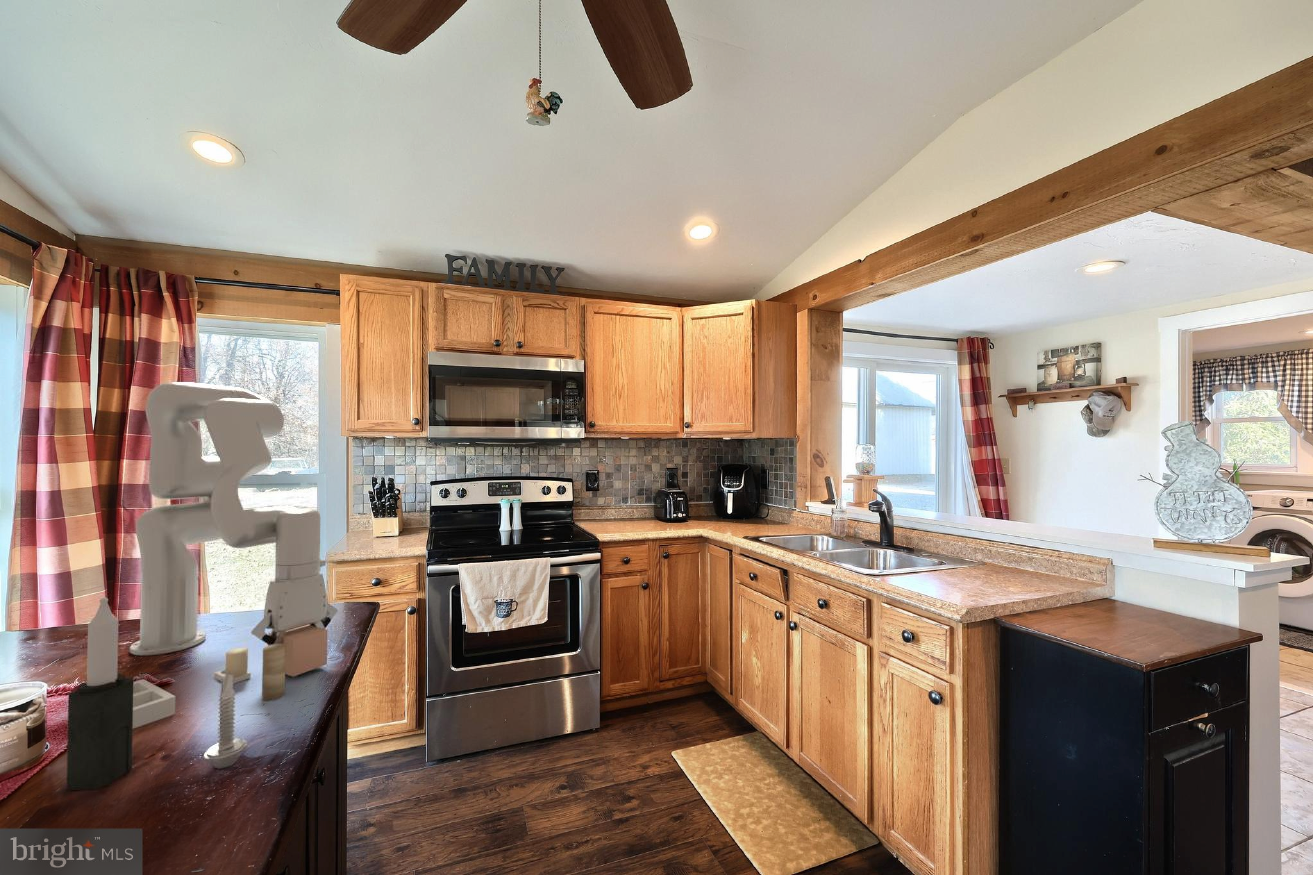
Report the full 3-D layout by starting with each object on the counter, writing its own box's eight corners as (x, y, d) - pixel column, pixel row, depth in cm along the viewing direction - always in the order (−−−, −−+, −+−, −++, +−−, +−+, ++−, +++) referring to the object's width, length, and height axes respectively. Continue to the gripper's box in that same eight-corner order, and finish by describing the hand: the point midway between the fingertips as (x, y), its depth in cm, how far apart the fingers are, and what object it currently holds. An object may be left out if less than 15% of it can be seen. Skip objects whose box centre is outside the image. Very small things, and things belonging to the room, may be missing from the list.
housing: (267, 666, 106) (268, 632, 106) (302, 655, 112) (302, 622, 112) (292, 676, 102) (293, 640, 102) (326, 664, 108) (327, 630, 108)
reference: (214, 677, 103) (214, 649, 103) (235, 670, 106) (235, 643, 106) (230, 685, 100) (230, 656, 100) (251, 677, 103) (251, 649, 104)
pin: (258, 697, 96) (259, 648, 96) (278, 690, 99) (279, 642, 99) (268, 702, 94) (268, 652, 94) (288, 694, 97) (289, 645, 97)
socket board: (88, 712, 90) (88, 695, 90) (142, 695, 96) (143, 679, 96) (118, 733, 84) (119, 714, 84) (174, 713, 90) (175, 696, 90)
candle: (98, 767, 75) (101, 592, 75) (136, 765, 76) (140, 592, 76) (60, 790, 70) (64, 603, 70) (102, 789, 71) (106, 603, 71)
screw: (253, 752, 79) (233, 772, 74) (218, 754, 79) (195, 775, 74) (255, 666, 79) (235, 680, 75) (220, 667, 79) (196, 682, 74)
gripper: (330, 560, 117) (329, 640, 117) (238, 577, 101) (237, 670, 101) (350, 564, 113) (349, 647, 113) (259, 582, 98) (257, 679, 98)
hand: (296, 657), depth 107 cm, fingers closed on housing, 6 cm apart
